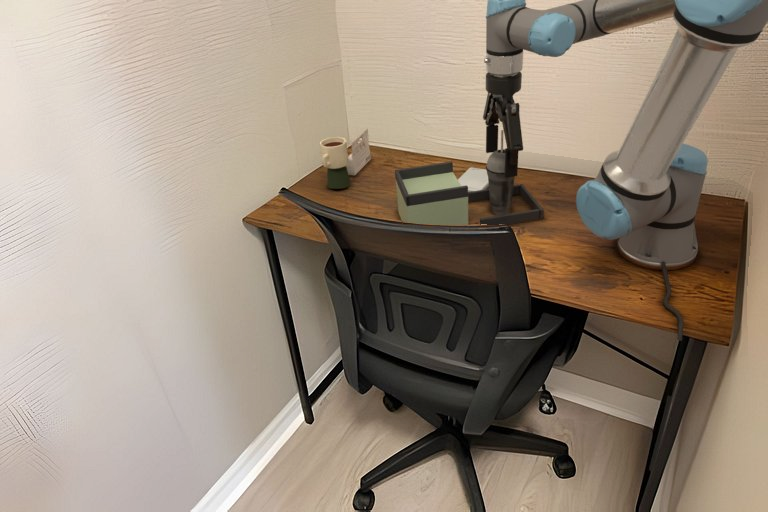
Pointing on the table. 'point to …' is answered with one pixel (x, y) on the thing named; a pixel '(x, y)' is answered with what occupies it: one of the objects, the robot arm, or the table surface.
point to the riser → (449, 198)
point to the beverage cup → (499, 182)
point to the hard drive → (474, 179)
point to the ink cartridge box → (359, 154)
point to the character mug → (335, 161)
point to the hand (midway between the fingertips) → (500, 163)
